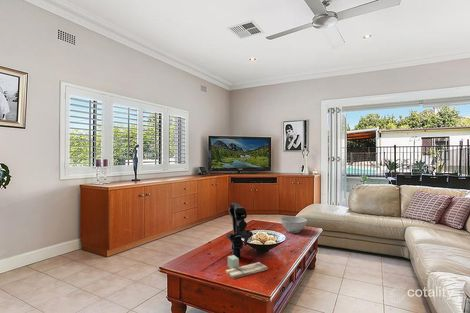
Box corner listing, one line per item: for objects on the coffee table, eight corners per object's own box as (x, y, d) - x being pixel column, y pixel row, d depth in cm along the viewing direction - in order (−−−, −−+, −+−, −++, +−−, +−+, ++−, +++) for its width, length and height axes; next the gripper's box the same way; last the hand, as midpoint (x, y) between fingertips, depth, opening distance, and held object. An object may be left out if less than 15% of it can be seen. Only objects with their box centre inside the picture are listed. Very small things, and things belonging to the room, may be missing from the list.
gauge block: (225, 264, 183) (225, 255, 183) (231, 263, 186) (231, 253, 186) (232, 270, 175) (232, 259, 175) (238, 268, 177) (238, 258, 177)
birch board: (225, 272, 171) (225, 270, 171) (259, 264, 185) (259, 261, 185) (233, 278, 162) (233, 276, 162) (267, 269, 176) (267, 267, 176)
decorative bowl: (308, 228, 274) (308, 217, 274) (305, 236, 249) (305, 223, 249) (282, 226, 283) (282, 215, 283) (277, 233, 258) (278, 221, 258)
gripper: (233, 229, 174) (233, 252, 174) (257, 226, 183) (256, 248, 183) (226, 225, 184) (226, 247, 184) (248, 222, 193) (248, 243, 193)
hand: (239, 246), depth 186 cm, fingers open, 9 cm apart
